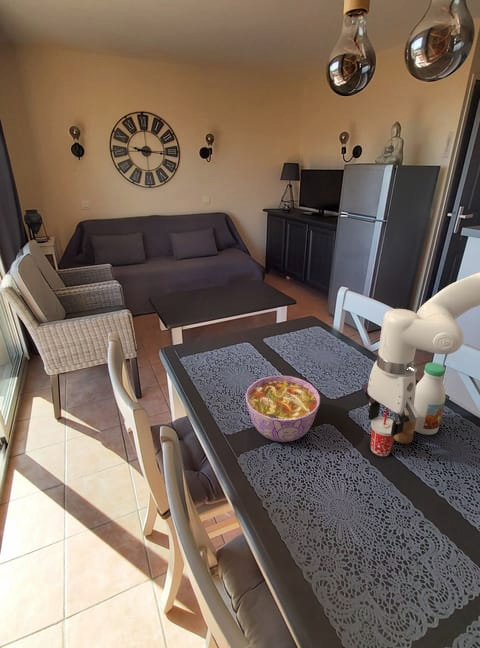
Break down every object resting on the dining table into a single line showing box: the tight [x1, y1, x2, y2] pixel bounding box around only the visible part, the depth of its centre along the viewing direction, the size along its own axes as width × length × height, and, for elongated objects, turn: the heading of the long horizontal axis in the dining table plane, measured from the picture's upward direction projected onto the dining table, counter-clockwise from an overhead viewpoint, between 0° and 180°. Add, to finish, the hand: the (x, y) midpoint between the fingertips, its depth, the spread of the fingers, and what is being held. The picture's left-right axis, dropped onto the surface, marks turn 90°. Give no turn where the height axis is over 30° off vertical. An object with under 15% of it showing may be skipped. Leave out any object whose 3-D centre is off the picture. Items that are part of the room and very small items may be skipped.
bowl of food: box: [244, 374, 321, 443], centre depth 99 cm, size 20×20×12 cm
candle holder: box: [393, 407, 417, 444], centre depth 95 cm, size 6×6×9 cm
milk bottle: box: [414, 362, 446, 436], centre depth 97 cm, size 8×8×20 cm
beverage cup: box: [370, 407, 395, 457], centre depth 90 cm, size 6×6×14 cm
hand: (384, 424), depth 89 cm, fingers closed on beverage cup, 6 cm apart
